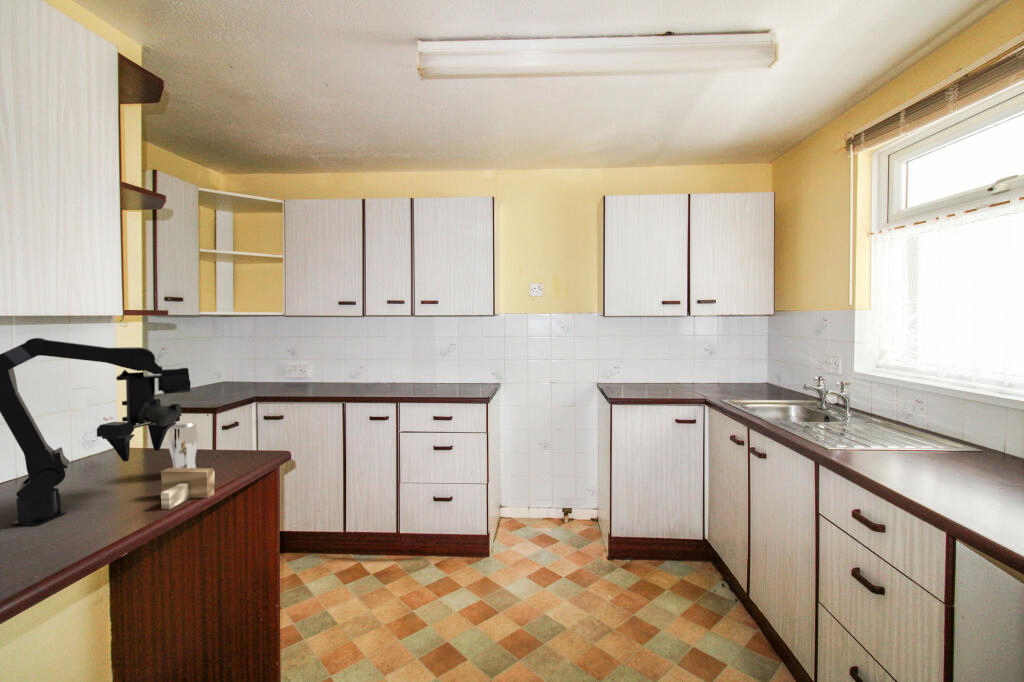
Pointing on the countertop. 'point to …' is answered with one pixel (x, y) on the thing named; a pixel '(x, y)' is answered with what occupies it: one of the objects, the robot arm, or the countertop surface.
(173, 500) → the birch rail
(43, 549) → the countertop surface
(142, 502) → the countertop surface
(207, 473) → the tan block
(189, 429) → the beer glass
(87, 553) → the countertop surface
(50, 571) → the countertop surface
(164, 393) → the robot arm
